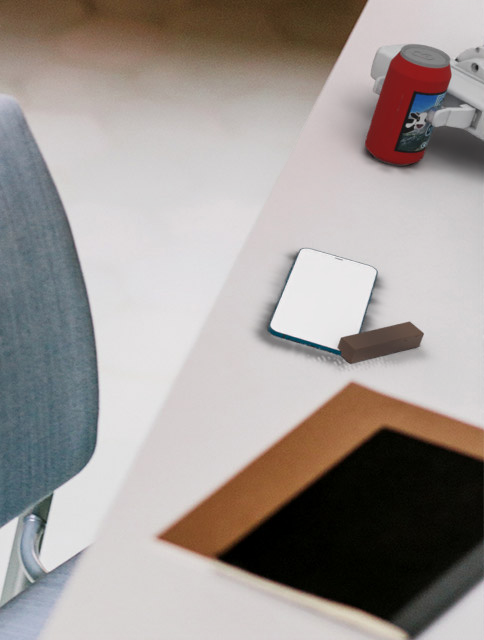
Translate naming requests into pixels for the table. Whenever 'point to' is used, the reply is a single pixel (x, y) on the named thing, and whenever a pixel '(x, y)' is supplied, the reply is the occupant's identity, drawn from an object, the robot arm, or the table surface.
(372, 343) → the walnut stick
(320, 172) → the table surface
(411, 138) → the beverage can
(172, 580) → the table surface
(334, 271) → the smartphone
